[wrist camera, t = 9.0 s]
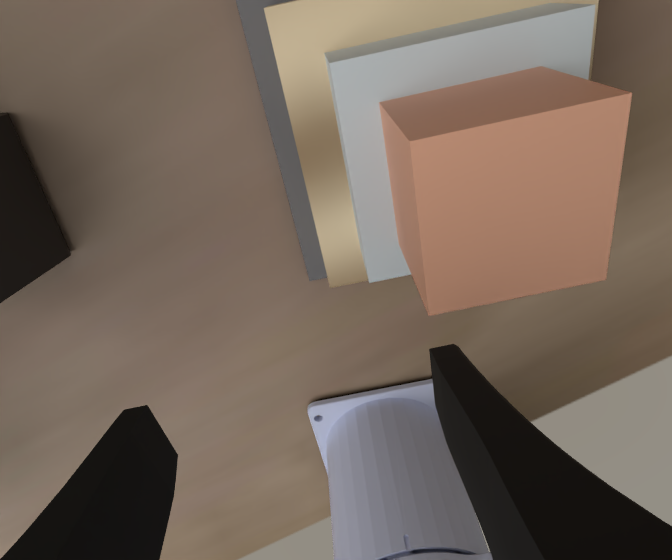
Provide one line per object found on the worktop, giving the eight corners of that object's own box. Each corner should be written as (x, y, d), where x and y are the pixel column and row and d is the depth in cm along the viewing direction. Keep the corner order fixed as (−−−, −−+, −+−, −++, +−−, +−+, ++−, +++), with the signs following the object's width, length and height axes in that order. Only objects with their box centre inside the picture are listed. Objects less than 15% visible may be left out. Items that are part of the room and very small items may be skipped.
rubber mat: (561, 223, 22) (567, 228, 21) (309, 275, 22) (309, 281, 22) (587, -104, 15) (595, -106, 15) (231, -22, 16) (229, -22, 15)
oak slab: (546, 213, 21) (575, 238, 18) (326, 258, 21) (330, 288, 19) (562, -61, 15) (605, -70, 13) (268, 6, 16) (263, 8, 14)
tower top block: (539, 211, 18) (572, 241, 16) (360, 248, 18) (369, 282, 16) (550, 2, 14) (595, 4, 12) (324, 52, 14) (329, 62, 12)
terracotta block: (535, 215, 15) (606, 279, 12) (398, 243, 15) (428, 316, 12) (540, 66, 13) (632, 92, 9) (378, 102, 13) (409, 141, 9)
